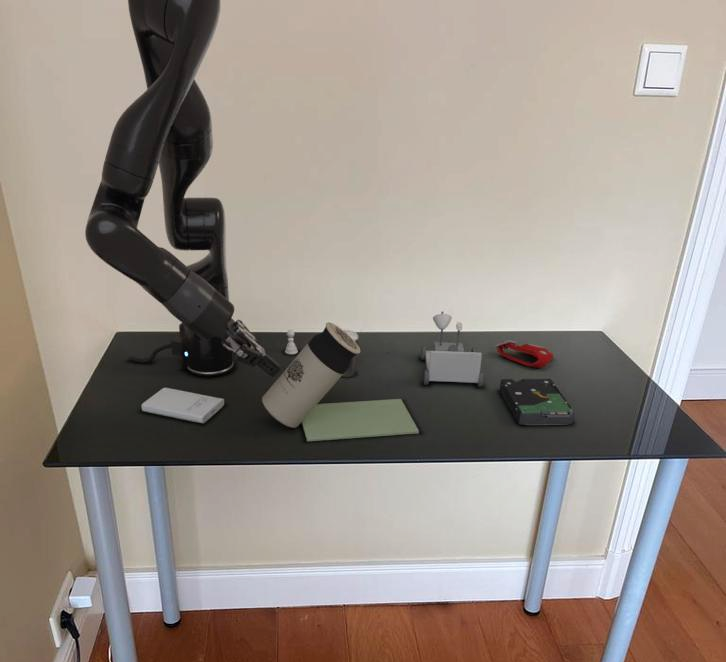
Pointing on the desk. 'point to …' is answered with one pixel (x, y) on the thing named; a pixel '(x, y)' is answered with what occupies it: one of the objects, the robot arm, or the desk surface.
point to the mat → (358, 420)
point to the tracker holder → (530, 349)
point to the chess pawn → (291, 343)
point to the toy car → (451, 359)
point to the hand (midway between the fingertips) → (276, 371)
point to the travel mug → (310, 375)
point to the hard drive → (183, 405)
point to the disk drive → (536, 402)
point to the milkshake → (352, 365)
